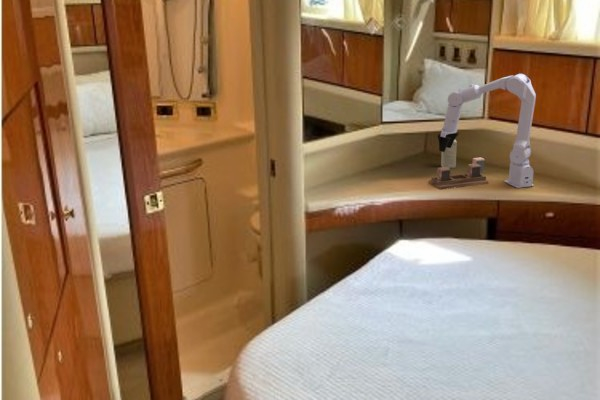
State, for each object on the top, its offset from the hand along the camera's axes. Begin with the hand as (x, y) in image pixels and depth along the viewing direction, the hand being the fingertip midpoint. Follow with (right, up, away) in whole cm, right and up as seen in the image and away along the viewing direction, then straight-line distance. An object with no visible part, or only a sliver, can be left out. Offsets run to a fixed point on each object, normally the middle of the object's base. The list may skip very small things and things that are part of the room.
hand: (445, 149), depth 254 cm
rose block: (+15, -10, +3) cm, 18 cm away
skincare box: (+4, -7, +12) cm, 15 cm away
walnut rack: (+3, -15, -11) cm, 19 cm away
